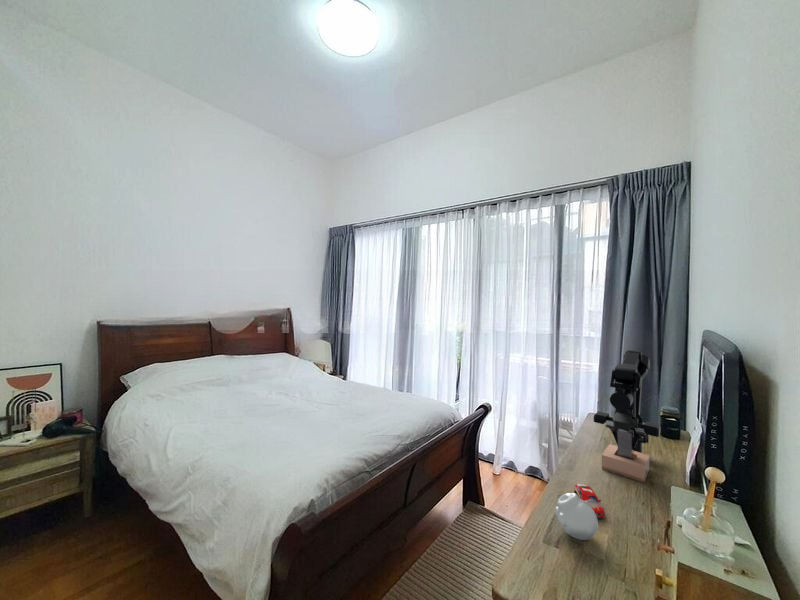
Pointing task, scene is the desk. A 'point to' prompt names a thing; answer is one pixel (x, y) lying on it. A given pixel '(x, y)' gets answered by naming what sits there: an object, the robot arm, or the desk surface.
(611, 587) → the desk surface
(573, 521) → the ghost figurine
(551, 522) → the desk surface
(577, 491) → the race car
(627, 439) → the grey rectangular block
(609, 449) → the well
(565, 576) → the desk surface
